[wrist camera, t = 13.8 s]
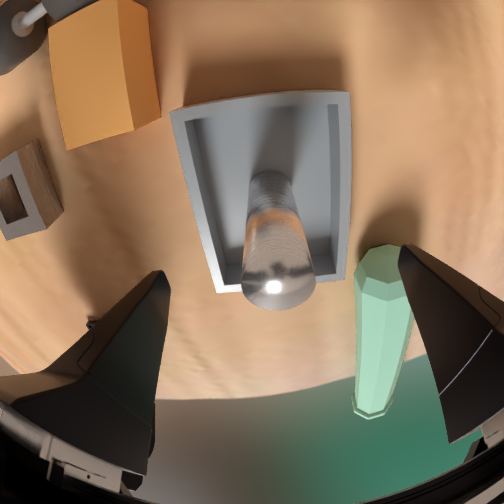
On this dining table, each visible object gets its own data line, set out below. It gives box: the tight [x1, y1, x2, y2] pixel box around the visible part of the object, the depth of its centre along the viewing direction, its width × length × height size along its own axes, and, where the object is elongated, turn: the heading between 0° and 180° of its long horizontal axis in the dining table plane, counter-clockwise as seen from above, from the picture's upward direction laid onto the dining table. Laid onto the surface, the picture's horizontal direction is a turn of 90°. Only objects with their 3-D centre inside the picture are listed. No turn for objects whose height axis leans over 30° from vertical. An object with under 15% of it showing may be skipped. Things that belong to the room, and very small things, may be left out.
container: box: [351, 244, 414, 419], centre depth 23 cm, size 6×6×25 cm
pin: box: [241, 169, 316, 310], centre depth 12 cm, size 2×2×8 cm
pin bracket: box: [0, 139, 64, 241], centre depth 14 cm, size 6×6×2 cm
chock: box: [48, 0, 161, 151], centre depth 10 cm, size 7×4×4 cm, turn 5°
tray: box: [170, 89, 352, 293], centre depth 15 cm, size 11×8×2 cm
